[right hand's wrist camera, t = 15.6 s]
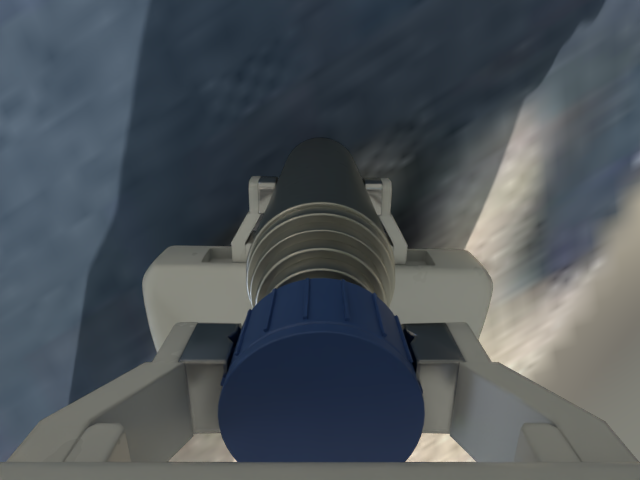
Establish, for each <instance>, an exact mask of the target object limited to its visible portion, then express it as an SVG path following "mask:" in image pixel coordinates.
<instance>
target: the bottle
mask: <svg viewBox="0 0 640 480" xmlns="http://www.w3.org/2000/svg"><path fill="white" fill-rule="evenodd" d="M306 278H309V279H312V278H329V279H338V280H342V279H344V280H345V281H347V282H350V283H353V284H355V285H358V286H360V287H362V288H364V289H366V290H368V291H370V292H371V293H376V294H377V297H378V298H379V299H381V300H382V301H383V302H384V303H385V304H386V305H387V306H388V307H390V304H391V301H392V298H393V294H394V289H395V261H394V255H393V251H392V248H391V246H390V243H389V241H388V239H387V236H386V234H385V232H384V229H383V227H382V225H381V222H380V220H379V218H378V215H377V213H376V211H375V208H374V206H373V204H372V201H371V199H370V197H369V195H368V192H367V190H366V188H365V185H364V183H363V181H362V178H361V176H360V174H359V171H358V169H357V167H356V164H355V162H354V160H353V158H352V156H351V154H350V153H349V151H348V150H347V149H346V148H345V147H344V146H343V145H341V144H340V143H338V142H336V141H334V140H332V139H328V138H313V139H309V140H306V141H304V142H302V143H301V144H299V145H298V146H296V147H295V148H294V149H293V150H292V152H291V153H290V155H289V156H288V158H287V160H286V163H285V165H284V167H283V170H282V172H281V175H280V177H279V179H278V182H277V184H276V187H275V189H274V191H273V194H272V196H271V198H270V201H269V203H268V206H267V208H266V210H265V213H264V215H263V217H262V220H261V222H260V225H259V227H258V229H257V232H256V234H255V236H254V239H253V241H252V244H251V246H250V249H249V252H248V256H247V262H246V287H247V293H248V297H249V300H250V303H251V305H252V309H253V308H254V306H255V305H256V304H257V303H258V302H259V301H260V300H261V299H263V298H264V297H265V296H267V295H268V294H269V293H271V292H272V290H273V289H274V288H276V289H278V288H280V287H282V286H284V285H287V284H290V283H292V282H296V281H300V280H305V279H306Z"/></svg>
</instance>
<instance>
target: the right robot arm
mask: <svg viewBox="0 0 640 480" xmlns="http://www.w3.org/2000/svg"><path fill="white" fill-rule="evenodd" d="M401 327H402V330H403V333H404V336H405V339H406V342H407V345H408V348H409V351H410V354H411V357H412V360H413V362H412V364H413V367H414V370H415V373H416V376H417V379H418V383H419V385H421V386H422V389H423V394H422V396H423V400H424V407H425V419H424V426H423V430H422V433H445V434H450V436H451V437H452V438H453V439H454V440H455V441H456V442H457V443H458V444H459V445H460V446H461V447H462V448H463V449H464V450H465V451H466V452H467V453H468V454H469V455H470V456H471V457H472V458H473V459H474V460H475V461H476V462H168V461H169V460H170V459H171V458H172V457H173V456H174V455H175V454H176V453H177V452H178V451H179V450H180V449H181V448H182V447H183V446H184V445H185V444H186V443H187V442H188V441H189V440H190V439H191V438H192V437H193V434H198V433H221V432H220V428H219V423H218V403H219V398H220V393H221V390H222V387H223V386H220V385H221V381H222V378H223V377H224V378H226V375H227V372H228V369H229V366H230V363H231V359H232V356H233V353H234V348H235V346H236V343H237V341H238V337H239V334H240V331H241V328H242V324H241V323H208V322H200V323H198V322H179V323H176V324H175V325H174V326H173V328H172V330H171V331H170V333H169V335H168V336H167V338H166V340H165V341H164V343H163V345H162V346H161V348H160V349H159V351H158V353H157V354H156V356H155V358H154V359H153V361H152V362H145V363H143V364H141V365H140V366H138V367H136V368H134V369H132V370H131V371H129V372H127V373H125V374H123V375H122V376H120V377H118V378H116V379H114V380H113V381H111V382H109V383H107V384H105V385H104V386H102V387H100V388H98V389H96V390H95V391H93V392H91V393H89V394H87V395H86V396H84V397H82V398H80V399H79V400H77V401H75V402H73V403H71V404H70V405H68V406H66V407H64V408H62V409H61V410H59V411H57V412H55V413H53V414H52V415H50V416H48V417H46V418H44V419H43V420H41V421H40V422H39V423H38V424H37V425H36V426H35V428H34V429H33V430H32V431H31V432H30V434H29V435H28V436H27V437H26V438H25V440H24V441H23V442H22V443H21V445H20V446H19V447H18V448H17V449H16V451H15V452H14V453H13V454H12V455H11V457H10V458H9V459H8V460H7V461H6V462H0V480H640V462H639V461H638V460H637V459H636V458H635V456H634V455H633V454H632V453H631V452H630V450H629V449H628V448H627V447H626V446H625V444H624V443H623V442H622V441H621V440H620V438H619V437H618V436H617V435H616V434H615V433H614V431H613V430H612V429H611V428H610V426H609V425H608V424H607V423H606V422H605V421H603V420H602V419H600V418H598V417H596V416H594V415H593V414H591V413H589V412H587V411H585V410H584V409H582V408H580V407H578V406H576V405H575V404H573V403H571V402H569V401H567V400H566V399H564V398H562V397H560V396H558V395H556V394H555V393H553V392H551V391H549V390H548V389H546V388H544V387H542V386H540V385H539V384H537V383H535V382H533V381H531V380H530V379H528V378H526V377H524V376H522V375H520V374H519V373H517V372H515V371H513V370H511V369H510V368H508V367H506V366H504V365H502V364H501V363H499V362H491V360H490V358H489V357H488V355H487V354H486V352H485V350H484V349H483V347H482V346H481V344H480V342H479V341H478V339H477V338H476V336H475V334H474V333H473V331H472V330H471V328H470V326H469V325H468V324H467V323H466V322H448V323H408V324H401Z"/></svg>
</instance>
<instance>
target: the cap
mask: <svg viewBox="0 0 640 480" xmlns="http://www.w3.org/2000/svg"><path fill="white" fill-rule="evenodd" d="M412 362H413V360H412V357H411V354H410V351H409V348H408V345H407V342H406V339H405V336H404V333H403V330H402V327H401V324H400V320H399V317H398V316H397V315H396V316H394V314H393V312H392V311H391V310H390V309H389V307H388V306H387V305H386V304H385V303H384V302H383V301H382V300H381V299H379V298H378V297H377V294H376V293H371V292H370V291H368V290H366V289H364V288H362V287H360V286H358V285H355V284H353V283H350V282H347V281H345V280H344V279H342V280H338V279H329V278H312V279H309V278H306V279H305V280H300V281H296V282H292V283H290V284H287V285H284V286H282V287H280V288H278V289H276V288H274V289H273V290H272V292H271V293H269V294H268V295H267V296H265V297H264V298H263V299H261V300H260V301H259V302H258V303H257V304H256V305H255V306H254V308H253V309H252V310H251V309H249V310H248V312H247V316H246V319H245V321H244V323H243V326H242V328H241V331H240V334H239V337H238V341H237V343H236V346H235V348H234V353H233V356H232V359H231V363H230V366H229V369H228V372H227V375H226V378H224V377H223V378H222V381H221V385H220V386H223V387H222V390H221V393H220V398H219V403H218V423H219V428H220V432H221V435H222V438H223V440H224V442H225V444H226V447H227V448H228V450H229V451H230V453H231V454H232V456H233V457H234V458H235V459H236V461H237V462H405V461H406V460H407V459H408V458H409V456H410V455H411V454H412V452H413V451H414V449H415V447H416V446H417V444H418V441H419V439H420V437H421V434H422V430H423V426H424V419H425V407H424V400H423V396H422V394H423V389H422V386H421V385H419V383H418V379H417V376H416V373H415V370H414V367H413V364H412Z"/></svg>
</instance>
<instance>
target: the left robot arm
mask: <svg viewBox="0 0 640 480" xmlns="http://www.w3.org/2000/svg"><path fill="white" fill-rule="evenodd" d="M277 182H278V177H267V176H252V177H251V179H250V180H249V208H250V210H249V212H248V213H247V215H246V217H245V219H244V221H243V222H242V224H241V226H240V228H239V230H238V231H237V233H236V235H235V237H234V239H233V240H232V242H231V246H178V245H176V246H170V247H168V248H167V249H165V250H164V251H163V252H162V253H161V254H160V255H159V256H158V257H157V258H156V259H155V260H154V261H153V263H152V264H151V265H150V266H149V268H148V269H147V271H146V272H145V274H144V277H143V281H142V289H143V298H144V304H145V309H146V314H147V319H148V323H149V327H150V331H151V335H152V339H153V342H154V345H155V349H156V352H157V353H158V351H159V349H160V348H161V346H162V345H163V343H164V341H165V340H166V338H167V336H168V335H169V333H170V331H171V330H172V328H173V326H174V325H175V324H176V323H179V322H198V323H200V322H208V323H241V324H242V326H243V323H244V321H245V319H246V316H247V312H248V310H249V309H251V310H252V305H251V303H250V300H249V297H248V293H247V287H246V262H247V256H248V252H249V249H250V246H251V244H252V241H253V239H254V236H255V234H256V232H257V231H253V232H252V230H253V228H254V226H255V224H256V223H257V221H258V219H259V217H260V215H261V214H262V213H265V210H266V208H267V206H268V203H269V201H270V198H271V196H272V194H273V191H274V189H275V187H276V184H277ZM363 183H364V185H365V188H366V190H367V192H368V195H369V197H370V199H371V201H372V204H373V206H374V208H375V211H376V213H377V215H378V216H379V218H380V220H381V222H382V224H383V225H384V227H385V229H386V231H387V233H388V235H387V233H385V234H386V236H387V239H388V241H389V243H390V246H391V248H392V251H393V255H394V261H395V289H394V294H393V298H392V301H391V304H390V307H389V309H390V310H391V311H392V312H393V314H394V316H396V315H397V316H398V317H399V320H400V324H408V323H448V322H466V323H467V324H468V325H469V326H470V328H471V330H472V331H473V333H474V334H475V336H476V338H477V339H478V341H479V336H480V334H481V331H482V328H483V325H484V322H485V319H486V315H487V312H488V308H489V304H490V300H491V296H492V291H493V283H492V280H491V277H490V275H489V274H488V272H487V271H486V269H485V268H484V267H483V265H482V264H481V263H480V262H479V261H478V260H477V259H476V258H475V257H474V256H473V255H472V254H471V253H470V252H468V251H466V250H461V249H407V247H408V245H407V243H406V241H405V239H404V237H403V235H402V233H401V231H400V229H399V228H398V226H397V224H396V222H395V220H394V218H393V216H392V214H391V212H390V210H391V196H392V184H391V181H390V180H389V178H363ZM251 232H252V233H251Z"/></svg>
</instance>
